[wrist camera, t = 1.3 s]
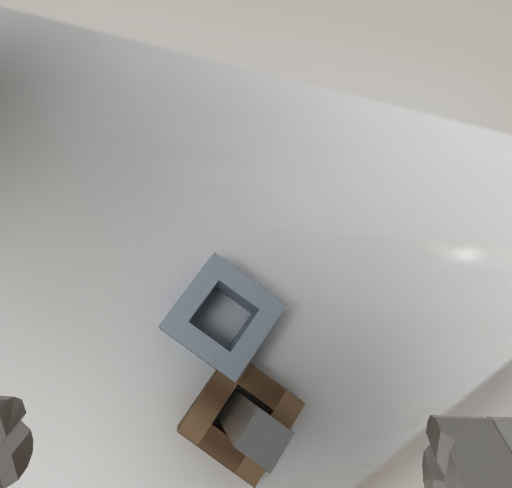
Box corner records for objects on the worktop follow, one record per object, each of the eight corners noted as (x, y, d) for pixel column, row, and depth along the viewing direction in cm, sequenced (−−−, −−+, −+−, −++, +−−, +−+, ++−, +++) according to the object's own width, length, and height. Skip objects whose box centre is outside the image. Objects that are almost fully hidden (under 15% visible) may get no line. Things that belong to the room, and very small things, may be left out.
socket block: (249, 478, 43) (254, 487, 40) (177, 426, 43) (177, 431, 40) (297, 400, 46) (305, 403, 43) (229, 350, 46) (232, 350, 43)
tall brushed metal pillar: (242, 435, 44) (270, 473, 30) (217, 417, 44) (234, 447, 30) (260, 408, 45) (294, 432, 31) (235, 390, 45) (258, 407, 31)
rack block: (229, 379, 45) (235, 382, 40) (160, 329, 45) (158, 326, 40) (276, 309, 48) (286, 304, 43) (210, 262, 48) (214, 252, 43)
